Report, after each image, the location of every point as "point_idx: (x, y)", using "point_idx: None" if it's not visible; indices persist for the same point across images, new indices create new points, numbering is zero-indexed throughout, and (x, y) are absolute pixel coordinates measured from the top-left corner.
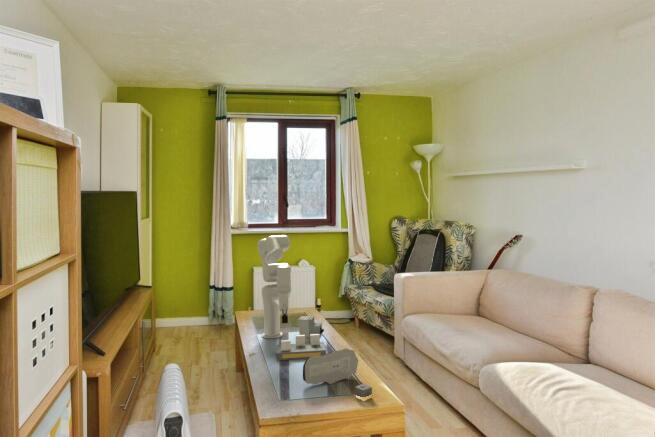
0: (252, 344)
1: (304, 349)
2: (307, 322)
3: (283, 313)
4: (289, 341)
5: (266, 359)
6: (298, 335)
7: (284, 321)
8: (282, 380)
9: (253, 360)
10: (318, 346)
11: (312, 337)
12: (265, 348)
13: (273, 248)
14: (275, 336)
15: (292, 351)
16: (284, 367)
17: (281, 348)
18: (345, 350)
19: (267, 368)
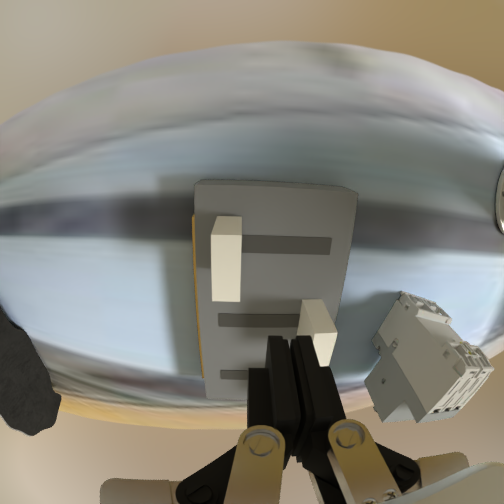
0: (462, 96)
1: (230, 334)
2: (424, 398)
3: (177, 489)
4: (213, 292)
5: (231, 123)
6: (325, 347)
7: (248, 378)
8: (5, 214)
9: (230, 58)
10: None
11: None
12: (409, 136)
13: None
14: (499, 206)
15: (206, 277)
16: (102, 218)
17: (216, 221)
18: (9, 422)
19: (99, 140)
